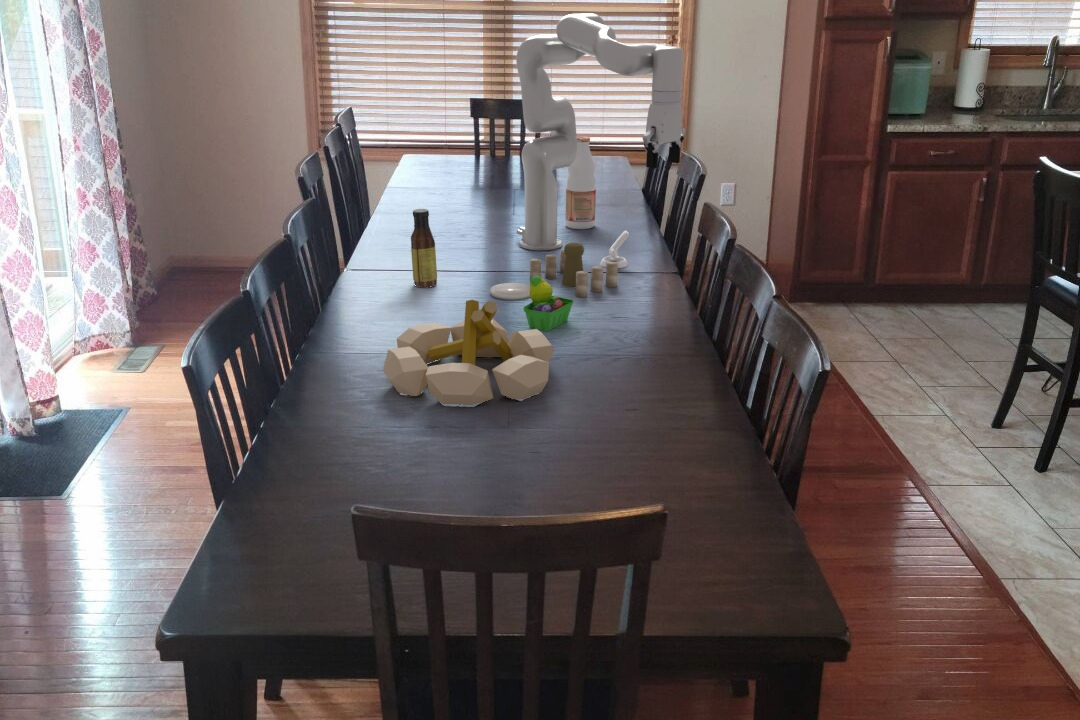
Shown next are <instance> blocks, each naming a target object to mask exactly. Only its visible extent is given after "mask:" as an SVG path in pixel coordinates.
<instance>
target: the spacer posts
mask: <svg viewBox="0 0 1080 720" xmlns="http://www.w3.org/2000/svg"><path fill="white" fill-rule="evenodd" d="M559 252H560V260H559V261H560V262H559V266H560V267H559V273H560V274H561V275H563V273H564V266H565V260H566V255H565V253H564V249H563V250H560V251H559ZM544 260H545V262H544V264H545V265H544V269H545V274H544V275H545V276H544V277H545V279H547V280H555V279H557V265H558V263H557V261H558V260H557V255H556V254H546V255H545V259H544ZM617 262H618V261H610V262H607V263H606V267H605V287H607V288H616V287H617V286H618V271H619V270H618V269H619V268H618V263H617ZM590 272H591V273H590V275H591V276H590V291H591V292H592V293H601V292H603V289H604V288H603V287H604V286H603V284H604V283H603V282H604V267H603V266H597V265H596V266H595V265H594V266H591V271H590ZM534 276H539V277H541V278H542V259H540V258H539V259H538V258H532V259H530V260H529V281H530V280H531V278H533V277H534ZM588 282H589V272H588V271H584V270H583V271H578V272H576V287H575V297H577V298H586V297H588V289H589V287H588V285H589V283H588Z"/></svg>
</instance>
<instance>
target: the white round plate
mask: <svg viewBox="0 0 1080 720" xmlns="http://www.w3.org/2000/svg"><path fill="white" fill-rule="evenodd" d="M489 291H490V293H491V294H490V295H491V297H493V296H494V297H493V298H496V299H500V300H505V301H506V300H507V301H508V300H509V301H510V300H511V301H512V300H513V301H518V300H525V299H529V298H530V294H529V291H530V284H526V283H518V282H504V283H497V284H495V285H493V286H491V287H490V290H489Z"/></svg>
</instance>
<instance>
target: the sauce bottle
mask: <svg viewBox="0 0 1080 720" xmlns="http://www.w3.org/2000/svg"><path fill="white" fill-rule="evenodd" d="M429 212H430V211H429V209H427V208H415V209H413V210H412V216H413V227H414V228H413V231H412V234H411V236H410V243H411V244H410V253H411V263H412V264H411V265H412V278H413V279H412V280H413V284H415V285H416V286H415V285H414V286H415V287H418V286H420V287H419V288H421V287H428V288H431V287H430V286H433V287H435V286H436V285H437V283H438V267H437V255H436V253H437V252H436V242H435V239H434V236H433V233H432V230H431V227H430V222H429V217H430V213H429ZM434 285H435V286H434Z"/></svg>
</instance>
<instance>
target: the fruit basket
mask: <svg viewBox="0 0 1080 720" xmlns="http://www.w3.org/2000/svg"><path fill="white" fill-rule="evenodd" d="M529 286H530V291H529V294H530V297H529V298H530V300H531V302H530V303H528V304H525V305H524V306H523V311H524V312H525V316H526V319H527V323H528V326H529V328H531V329H537V330H539V331H546V332H550V331H551V330H553V329H554V328H556V327H557V326H560V325H562V324H563V323H566V322H567V321H568V319H569V316H570V312H571V308H572V306H573V304H574V300H573V299H571V298H566V297H561V296H558V295H557V296H556V295H553V293H554V290H553V287H552V286H551V284H549V283H548V282H547V281H546V280H544V278H542V276H541V277H539V276H534V277H533V278H531V280H530V279H529Z"/></svg>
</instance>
